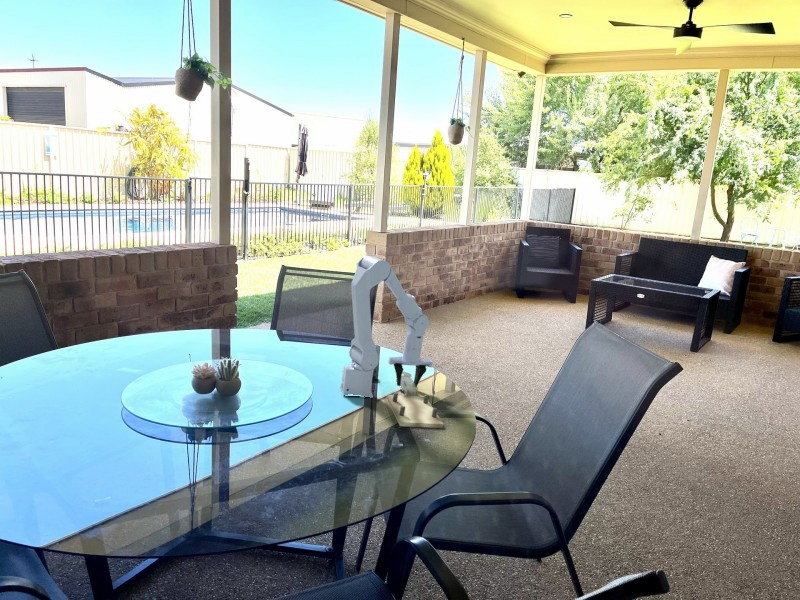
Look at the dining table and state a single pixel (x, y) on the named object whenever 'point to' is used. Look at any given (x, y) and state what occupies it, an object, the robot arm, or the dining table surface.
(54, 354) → the dining table surface
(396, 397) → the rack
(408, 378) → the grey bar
